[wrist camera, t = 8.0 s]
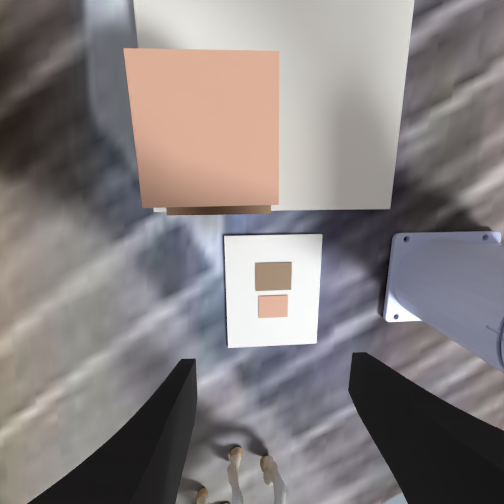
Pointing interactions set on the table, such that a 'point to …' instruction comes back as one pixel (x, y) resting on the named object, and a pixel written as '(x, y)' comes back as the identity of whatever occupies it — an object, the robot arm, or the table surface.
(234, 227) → the table surface
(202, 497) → the unicorn figurine
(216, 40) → the base plate
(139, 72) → the terracotta block
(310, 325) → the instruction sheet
